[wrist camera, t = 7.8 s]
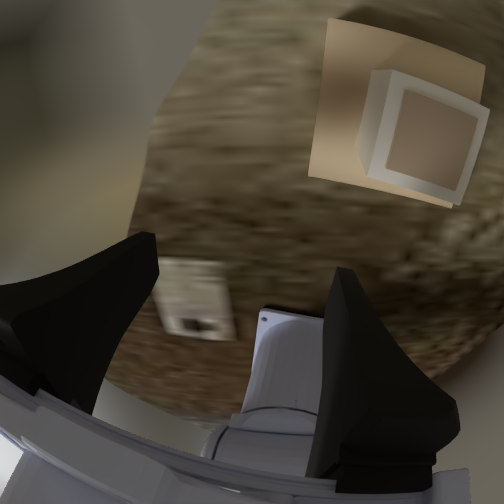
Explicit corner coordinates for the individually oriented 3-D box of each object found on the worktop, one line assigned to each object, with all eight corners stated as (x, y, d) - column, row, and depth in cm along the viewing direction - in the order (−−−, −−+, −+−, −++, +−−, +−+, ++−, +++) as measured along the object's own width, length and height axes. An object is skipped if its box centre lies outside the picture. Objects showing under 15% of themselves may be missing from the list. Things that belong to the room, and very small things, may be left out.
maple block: (437, 189, 18) (451, 208, 16) (310, 160, 20) (307, 175, 17) (464, 64, 13) (485, 65, 11) (327, 25, 14) (328, 17, 12)
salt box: (427, 169, 15) (461, 208, 11) (355, 147, 16) (367, 178, 11) (447, 96, 13) (492, 110, 8) (371, 70, 13) (393, 69, 9)
